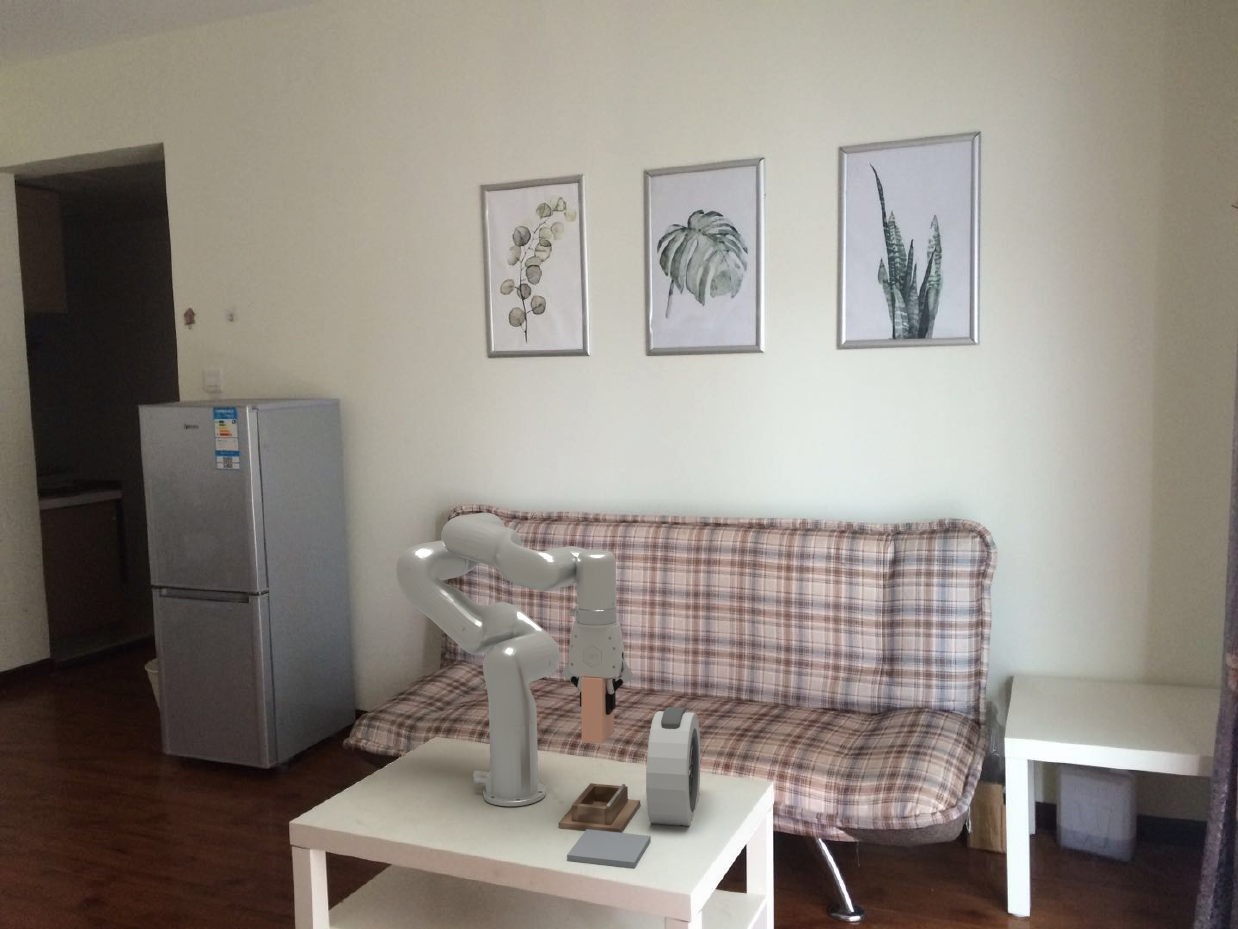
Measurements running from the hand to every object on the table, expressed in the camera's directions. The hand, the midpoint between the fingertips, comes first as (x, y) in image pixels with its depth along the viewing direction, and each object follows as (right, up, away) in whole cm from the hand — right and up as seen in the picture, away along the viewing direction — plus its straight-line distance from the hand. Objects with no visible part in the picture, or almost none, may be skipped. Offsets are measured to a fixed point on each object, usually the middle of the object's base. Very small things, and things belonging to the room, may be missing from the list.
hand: (597, 711), depth 188 cm
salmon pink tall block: (0, -5, 0) cm, 5 cm away
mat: (+2, -21, -14) cm, 25 cm away
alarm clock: (+15, -20, +3) cm, 25 cm away
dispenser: (0, -20, +1) cm, 20 cm away
